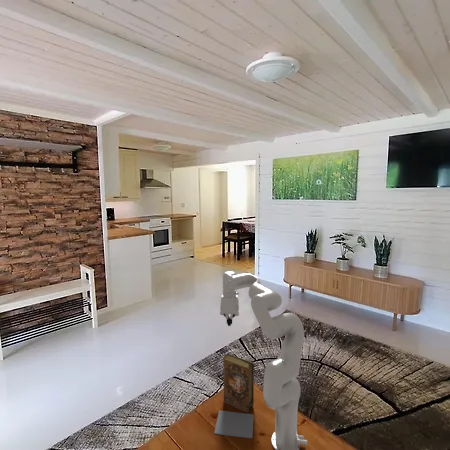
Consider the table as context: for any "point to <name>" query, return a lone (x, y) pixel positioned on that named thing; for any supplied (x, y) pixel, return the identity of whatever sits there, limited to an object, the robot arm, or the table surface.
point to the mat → (234, 424)
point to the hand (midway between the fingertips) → (229, 324)
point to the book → (238, 382)
